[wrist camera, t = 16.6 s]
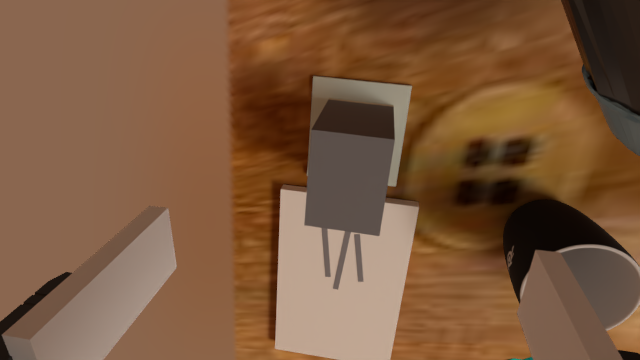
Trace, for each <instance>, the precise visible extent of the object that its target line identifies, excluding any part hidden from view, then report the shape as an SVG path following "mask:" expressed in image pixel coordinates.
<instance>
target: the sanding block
mask: <svg viewBox="0 0 640 360" xmlns="http://www.w3.org/2000/svg"><path fill="white" fill-rule="evenodd" d="M394 142H395V129H394V106H393V105H385V104H376V103H367V102H358V101H350V100H341V99H332V98H329V99H328V101H327V103H326V105H325V106H324V108H323V110H322V112H321V113H320V115H319V117H318V119H317V120H316V122H315V124H314V126H313V127H312V129H311V140H310V154H309V168H308V181H307V195H306V209H305V222H304V225H306V226H313V227H319V228H326V229H333V230H340V231H347V232H354V233H361V234H367V235H374V236H380V229H381V223H382V217H383V211H384V205H385V198H386V192H387V186H388V180H389V174H390V167H391V161H392V155H393V149H394Z"/></svg>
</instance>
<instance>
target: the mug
mask: <svg viewBox="0 0 640 360" xmlns="http://www.w3.org/2000/svg"><path fill="white" fill-rule="evenodd" d="M503 246H504V253H505V259H506V263H507V267H508V271H509V275H510V278H511V282H512V285H513V288H514V291H515V294H516V296H517V299H518V301H519V303H520V302H521V298H522V295H523V291H524V288H525V285H526V281H527V278H528V274H529V271H530V267H531V264H532V260H533V257H534V253H535V250H542V251H551V252H560V253H561V255H562V257H563V258H564V260H565V262H566V263H567V265H568V267H569V268H570V270H571V272H572V274H573V275H574V277H575V279H576V280H577V282H578V284H579V286H580V287H581V289H582V291H583V292H584V294H585V296H586V297H587V299H588V301H589V303H590V304H591V306H592V308H593V309H594V311H595V313H596V315H597V316H598V318H599V320H600V321H601V323H602V325H603V326H604V328H605V330H606V331H607V330H610V329H612V328H614V327H616V326H618V325H619V324H621V323H622V322H624V321H625V320H626V319H627V318H629V317H630V316H631V315H632V314H633V313H634V311H635V310H636V309H637V307H638V306H639V304H640V267H639V265H638V264H637V262H636V261H635V260H634V259H633V258H632V256H631V255H630V254H629V253H628V252H627V251H626V250H625V249H624V248H623V247H622V246H621V245H620V244H619V243H618V242H617V241H616V240H615V239H614V238H613V237H612V236H610V235H609V234H608V233H607V232H606V231H605V230H604V229H602V228H601V227H600V226H599V225H598V224H596V223H595V222H594V221H592V220H591V219H590V218H588V217H587V216H586V215H584V214H583V213H581V212H580V211H578V210H576V209H575V208H573V207H571V206H569V205H567V204H564V203H562V202H558V201H553V200H537V201H533V202H529V203H527V204H525V205H523V206H521V207H520V208H518V209H517V210H516V211H515V212H513V214H512V215H511V216H510V217H509V219H508V221H507V223H506V225H505V228H504V234H503Z"/></svg>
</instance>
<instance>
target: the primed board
mask: <svg viewBox="0 0 640 360" xmlns="http://www.w3.org/2000/svg"><path fill="white" fill-rule="evenodd" d="M306 195H307V187H300V186H292V185H285V184H283V186H282V188H281V194H280V222H279V251H278V280H277V308H276V337H275V349H279V350H285V351H291V352H297V353H303V354H309V355H315V356H320V357H326V358H332V359H338V360H390V358H391V353H392V347H393V342H394V337H395V332H396V326H397V321H398V316H399V311H400V305H401V300H402V295H403V289H404V284H405V279H406V274H407V268H408V263H409V258H410V253H411V247H412V242H413V237H414V232H415V226H416V221H417V216H418V211H419V203H418V202H417V201H409V200H401V199H393V198H385V205H384V211H383V217H382V223H381V229H380V236H374V235H367V234H361V233H354V232H347V231H340V230H333V229H326V228H319V227H313V226H306V225H304V222H305V209H306Z"/></svg>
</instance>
